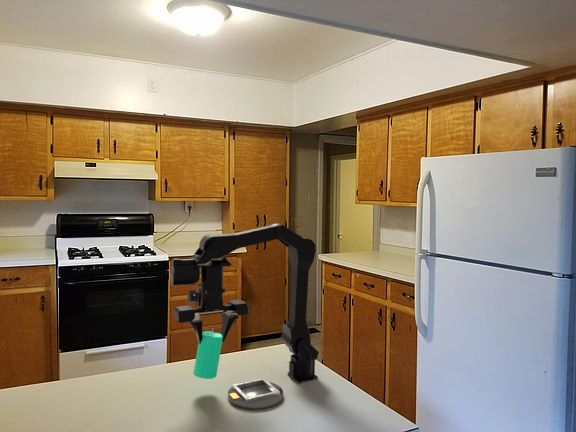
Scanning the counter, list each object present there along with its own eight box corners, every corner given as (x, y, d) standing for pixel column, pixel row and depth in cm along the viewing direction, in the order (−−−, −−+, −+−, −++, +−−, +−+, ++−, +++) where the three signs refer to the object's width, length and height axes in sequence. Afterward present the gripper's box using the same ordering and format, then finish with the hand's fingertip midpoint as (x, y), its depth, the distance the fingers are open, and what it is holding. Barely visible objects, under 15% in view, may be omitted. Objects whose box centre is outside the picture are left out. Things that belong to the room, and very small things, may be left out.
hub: (267, 381, 123) (267, 373, 123) (292, 402, 111) (293, 393, 110) (219, 391, 116) (219, 383, 116) (241, 415, 104) (241, 406, 104)
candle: (211, 380, 111) (219, 333, 111) (189, 375, 112) (197, 328, 113) (220, 373, 117) (227, 328, 117) (199, 368, 118) (206, 323, 119)
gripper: (233, 275, 126) (233, 329, 127) (167, 281, 117) (167, 339, 118) (250, 282, 116) (249, 341, 117) (179, 289, 107) (179, 352, 108)
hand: (211, 343), depth 115 cm, fingers closed on candle, 6 cm apart
